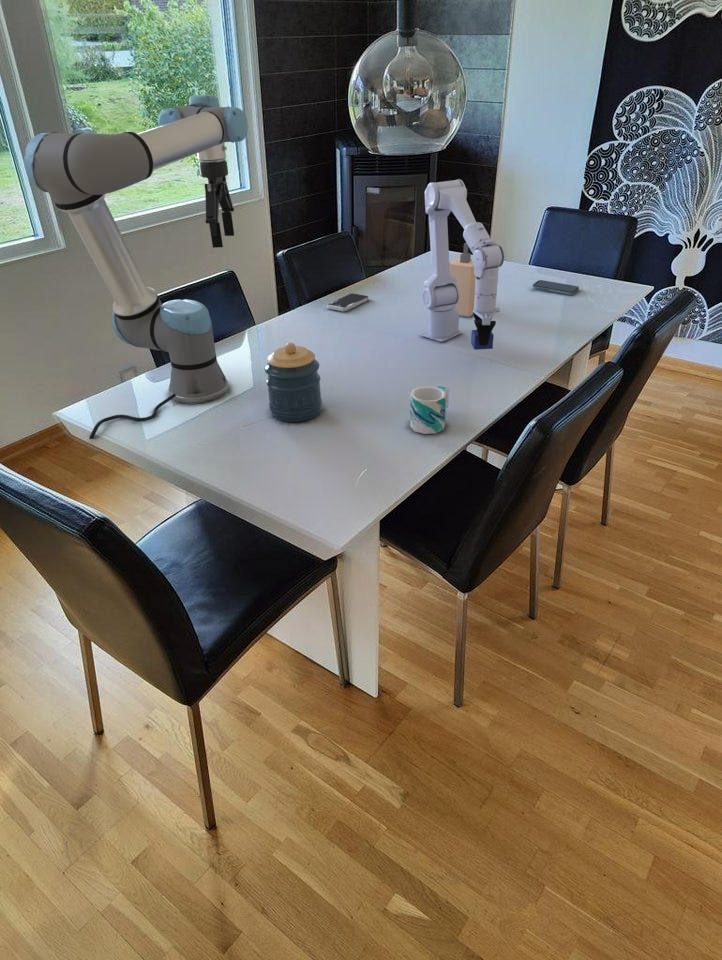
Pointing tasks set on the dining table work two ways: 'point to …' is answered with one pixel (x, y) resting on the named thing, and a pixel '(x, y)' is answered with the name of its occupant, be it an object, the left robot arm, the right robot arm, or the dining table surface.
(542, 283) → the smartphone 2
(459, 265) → the soap dispenser
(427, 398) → the mug
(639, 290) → the dining table surface
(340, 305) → the smartphone
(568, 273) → the dining table surface
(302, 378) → the canister
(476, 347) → the block
